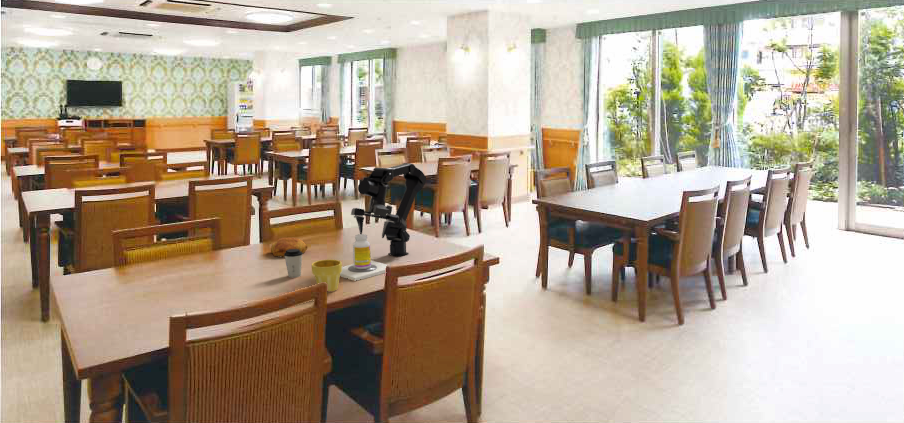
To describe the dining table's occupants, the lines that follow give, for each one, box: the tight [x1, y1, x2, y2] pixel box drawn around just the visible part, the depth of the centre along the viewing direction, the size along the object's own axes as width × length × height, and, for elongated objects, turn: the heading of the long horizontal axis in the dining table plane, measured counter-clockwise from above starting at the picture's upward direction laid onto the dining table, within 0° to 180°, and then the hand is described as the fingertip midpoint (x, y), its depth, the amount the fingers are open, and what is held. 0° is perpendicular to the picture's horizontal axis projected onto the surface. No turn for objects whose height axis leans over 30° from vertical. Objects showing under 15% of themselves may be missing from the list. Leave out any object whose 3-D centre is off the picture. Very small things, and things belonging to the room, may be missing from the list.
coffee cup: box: [284, 249, 304, 279], centre depth 239 cm, size 7×7×10 cm
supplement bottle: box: [352, 233, 372, 269], centre depth 243 cm, size 7×7×13 cm
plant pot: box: [311, 259, 343, 292], centre depth 221 cm, size 10×10×10 cm
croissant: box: [270, 237, 308, 258], centre depth 273 cm, size 14×16×8 cm
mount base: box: [340, 260, 388, 282], centre depth 245 cm, size 20×16×2 cm
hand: (371, 236), depth 253 cm, fingers open, 9 cm apart
